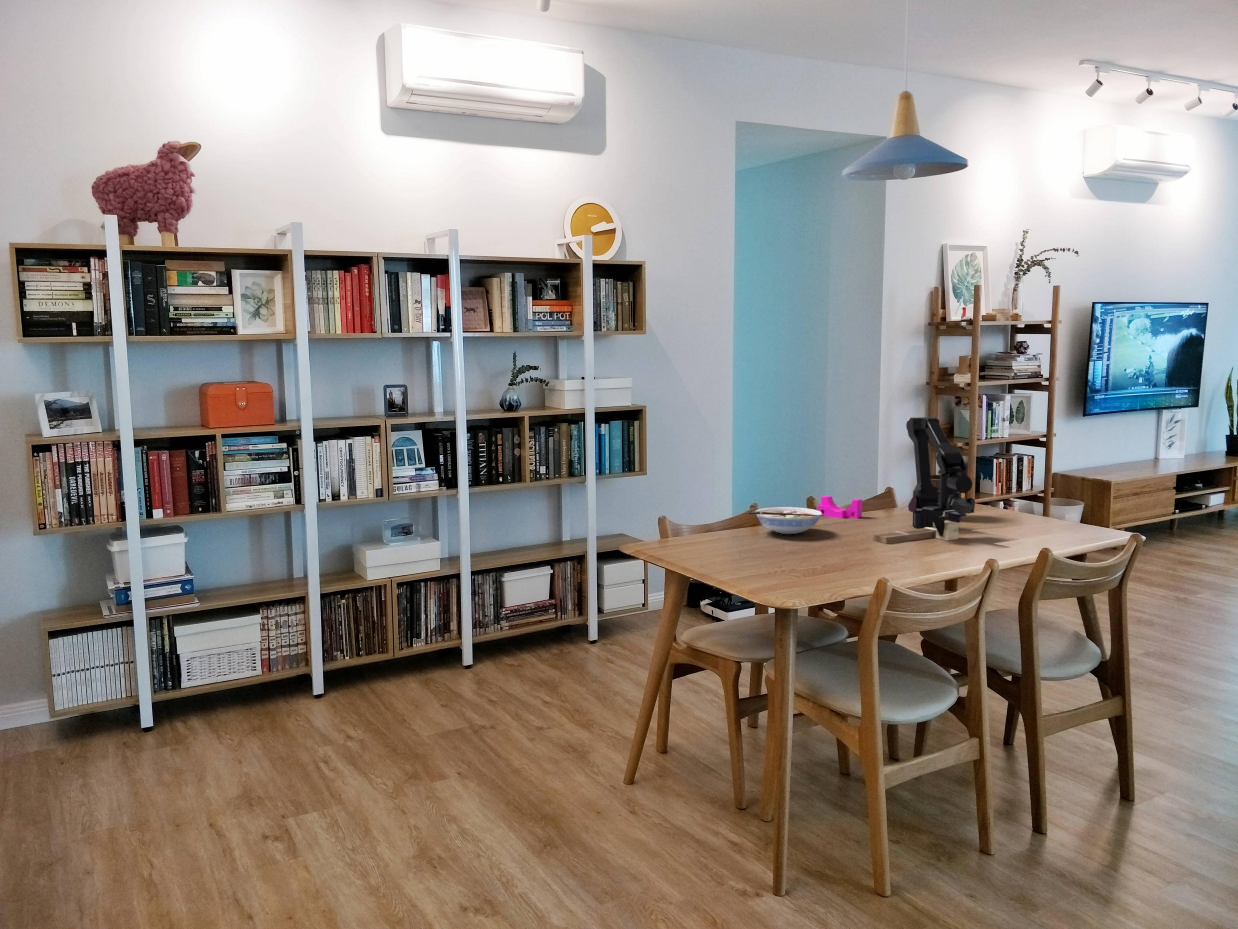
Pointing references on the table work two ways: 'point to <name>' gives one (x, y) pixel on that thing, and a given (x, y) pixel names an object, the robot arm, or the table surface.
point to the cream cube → (948, 531)
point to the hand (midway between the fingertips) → (947, 535)
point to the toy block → (832, 510)
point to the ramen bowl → (788, 519)
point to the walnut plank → (904, 535)
